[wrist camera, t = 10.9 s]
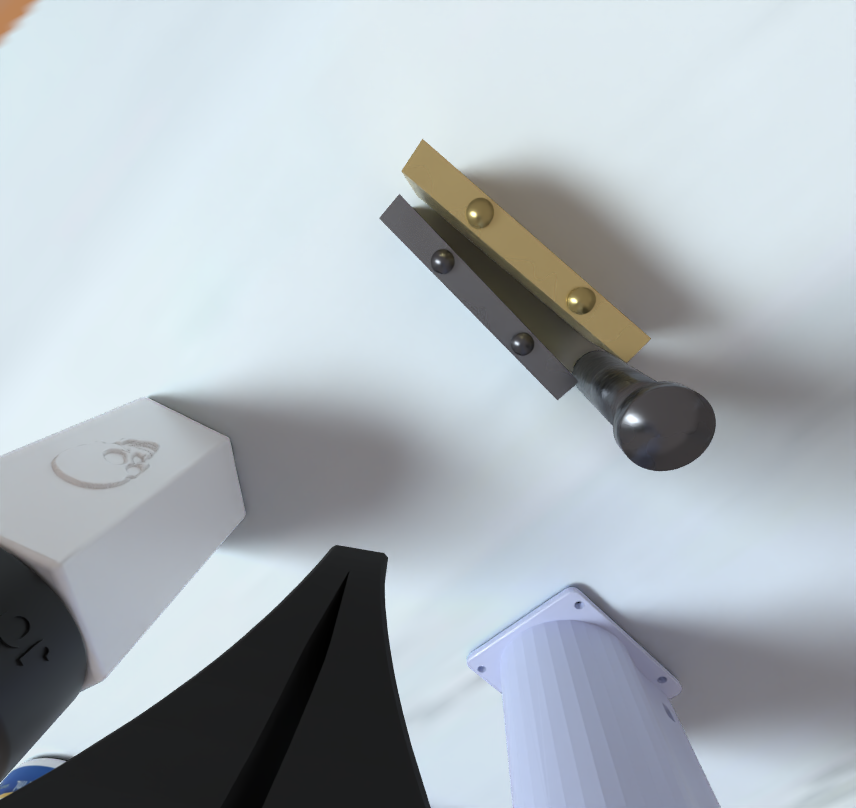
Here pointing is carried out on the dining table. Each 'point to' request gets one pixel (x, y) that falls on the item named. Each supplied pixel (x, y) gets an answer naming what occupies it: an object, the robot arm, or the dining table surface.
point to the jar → (99, 550)
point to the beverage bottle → (27, 774)
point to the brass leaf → (520, 253)
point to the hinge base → (593, 373)
